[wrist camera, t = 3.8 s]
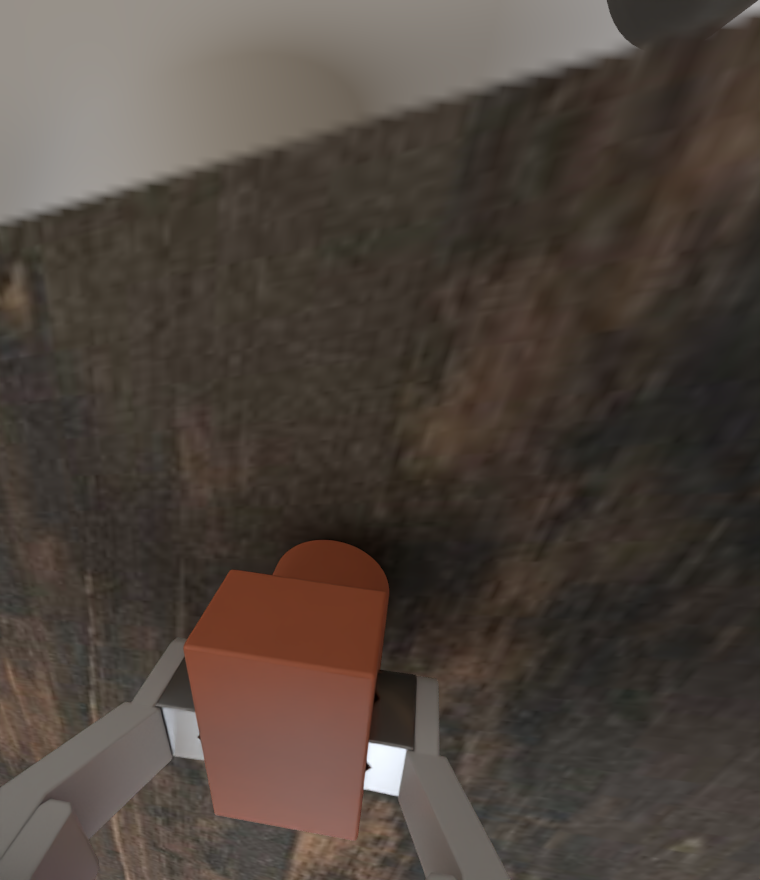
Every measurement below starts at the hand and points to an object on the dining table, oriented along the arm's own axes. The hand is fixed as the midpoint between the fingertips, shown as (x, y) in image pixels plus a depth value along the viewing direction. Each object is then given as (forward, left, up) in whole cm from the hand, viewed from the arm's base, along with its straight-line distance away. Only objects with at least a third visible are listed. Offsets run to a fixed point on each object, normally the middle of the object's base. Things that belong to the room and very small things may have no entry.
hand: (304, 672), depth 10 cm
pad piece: (0, 0, -3) cm, 3 cm away
